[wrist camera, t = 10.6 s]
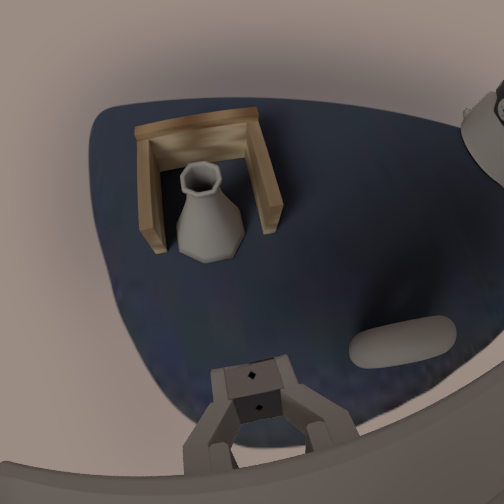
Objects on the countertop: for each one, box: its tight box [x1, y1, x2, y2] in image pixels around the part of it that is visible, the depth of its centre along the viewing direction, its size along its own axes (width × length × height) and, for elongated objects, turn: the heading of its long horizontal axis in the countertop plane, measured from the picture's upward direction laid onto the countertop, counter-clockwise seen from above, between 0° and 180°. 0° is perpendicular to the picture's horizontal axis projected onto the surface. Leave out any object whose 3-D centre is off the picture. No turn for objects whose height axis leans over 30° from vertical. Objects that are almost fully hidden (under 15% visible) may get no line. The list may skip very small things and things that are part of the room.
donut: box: [349, 315, 456, 368], centre depth 23 cm, size 10×4×10 cm, turn 94°
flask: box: [176, 160, 245, 263], centre depth 27 cm, size 7×7×10 cm
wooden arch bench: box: [135, 107, 283, 254], centre depth 29 cm, size 12×11×7 cm
